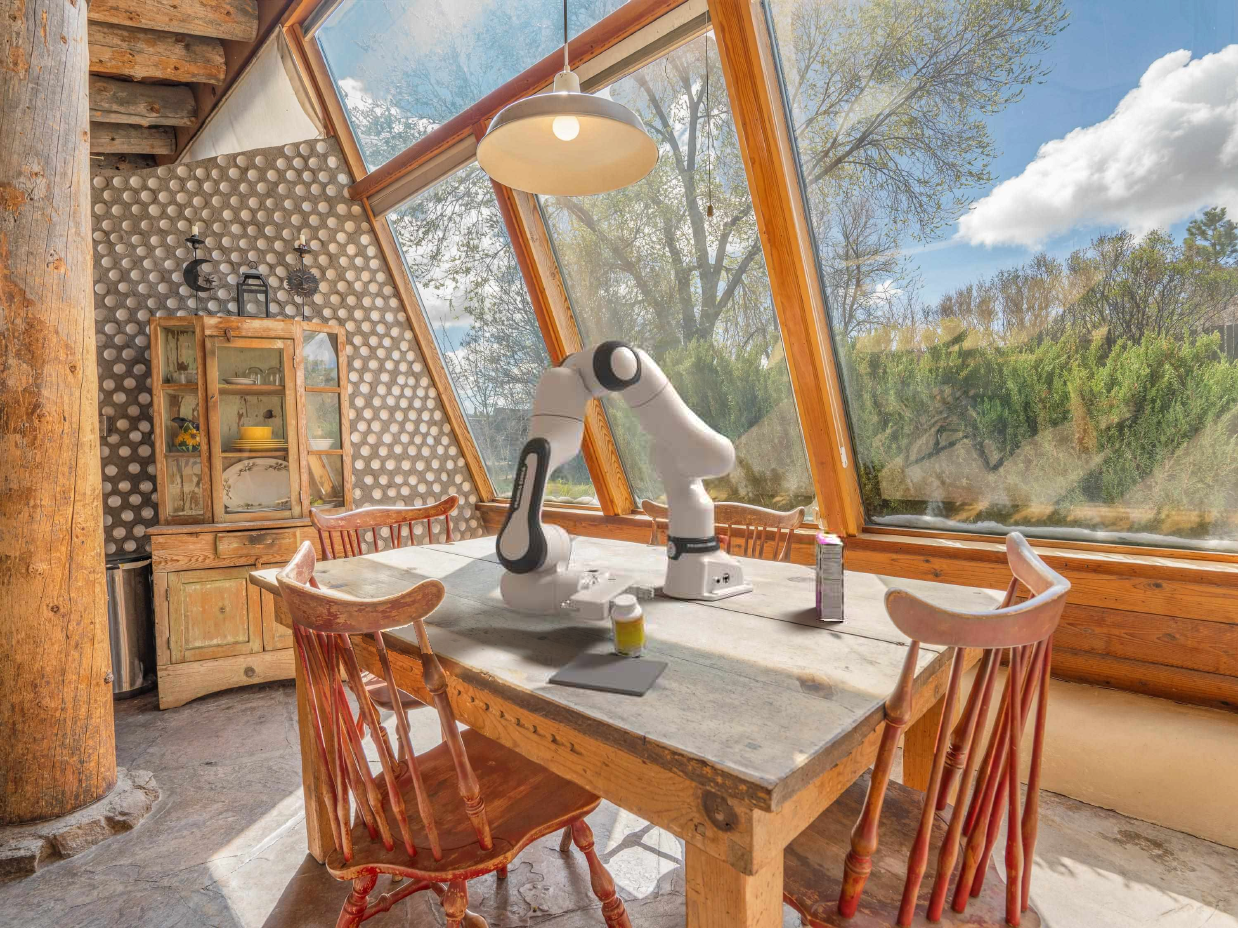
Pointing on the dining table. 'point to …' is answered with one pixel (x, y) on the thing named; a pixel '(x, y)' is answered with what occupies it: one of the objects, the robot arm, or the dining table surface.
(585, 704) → the dining table surface
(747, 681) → the dining table surface
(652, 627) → the dining table surface
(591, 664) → the mat
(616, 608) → the supplement bottle
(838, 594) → the candy bar box
